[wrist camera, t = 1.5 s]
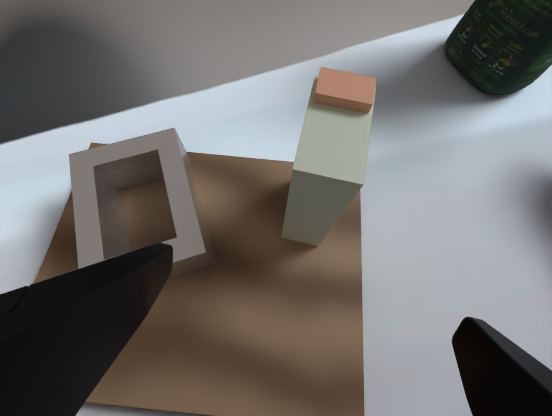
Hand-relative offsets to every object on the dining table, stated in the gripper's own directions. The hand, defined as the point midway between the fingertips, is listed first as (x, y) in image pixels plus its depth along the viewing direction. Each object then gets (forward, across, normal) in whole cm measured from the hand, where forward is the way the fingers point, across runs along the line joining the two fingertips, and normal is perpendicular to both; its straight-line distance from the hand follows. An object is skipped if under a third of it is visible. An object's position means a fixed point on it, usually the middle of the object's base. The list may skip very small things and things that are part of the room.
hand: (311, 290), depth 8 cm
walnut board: (+11, +7, +8) cm, 15 cm away
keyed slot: (+12, +12, +6) cm, 17 cm away
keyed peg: (+14, 0, +3) cm, 15 cm away
